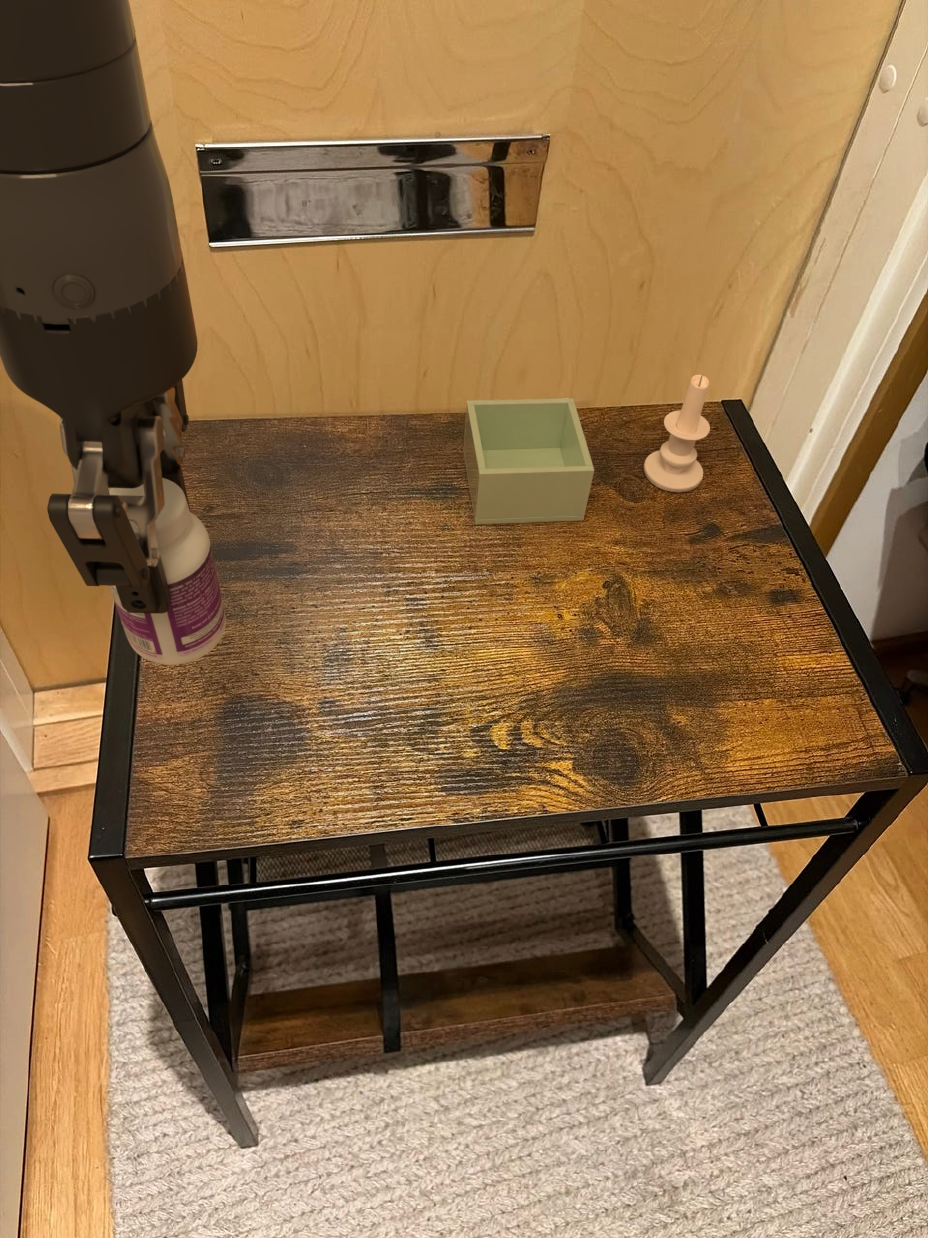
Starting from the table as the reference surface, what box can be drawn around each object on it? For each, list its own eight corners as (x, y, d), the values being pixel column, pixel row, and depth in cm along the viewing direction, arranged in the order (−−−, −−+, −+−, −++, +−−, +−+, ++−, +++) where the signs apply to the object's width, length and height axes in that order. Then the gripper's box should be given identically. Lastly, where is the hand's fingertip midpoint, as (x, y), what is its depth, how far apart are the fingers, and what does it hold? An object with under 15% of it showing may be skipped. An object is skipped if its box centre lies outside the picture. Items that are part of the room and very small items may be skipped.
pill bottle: (223, 588, 54) (198, 459, 47) (231, 660, 51) (206, 534, 44) (125, 601, 53) (84, 471, 46) (127, 675, 50) (83, 549, 43)
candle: (708, 492, 82) (742, 394, 74) (650, 493, 81) (678, 395, 73) (693, 452, 85) (724, 354, 77) (637, 453, 85) (663, 355, 77)
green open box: (583, 520, 79) (594, 470, 75) (474, 524, 78) (479, 473, 73) (564, 448, 85) (573, 397, 80) (462, 451, 84) (466, 400, 79)
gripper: (25, 157, 39) (114, 466, 52) (-97, 364, 30) (47, 676, 43) (208, 167, 40) (251, 471, 53) (142, 374, 31) (213, 679, 44)
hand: (159, 562), depth 48 cm, fingers closed on pill bottle, 5 cm apart
